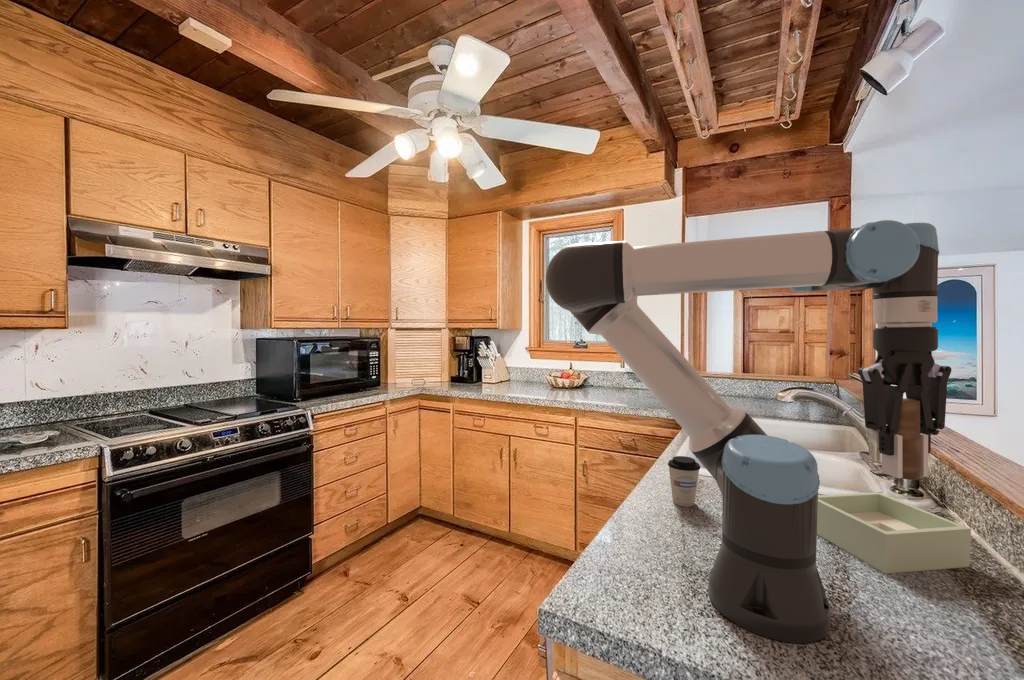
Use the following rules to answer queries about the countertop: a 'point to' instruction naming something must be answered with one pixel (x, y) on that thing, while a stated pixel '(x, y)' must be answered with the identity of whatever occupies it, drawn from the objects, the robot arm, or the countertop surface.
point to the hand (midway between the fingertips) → (904, 474)
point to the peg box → (892, 533)
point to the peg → (910, 438)
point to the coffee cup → (683, 480)
